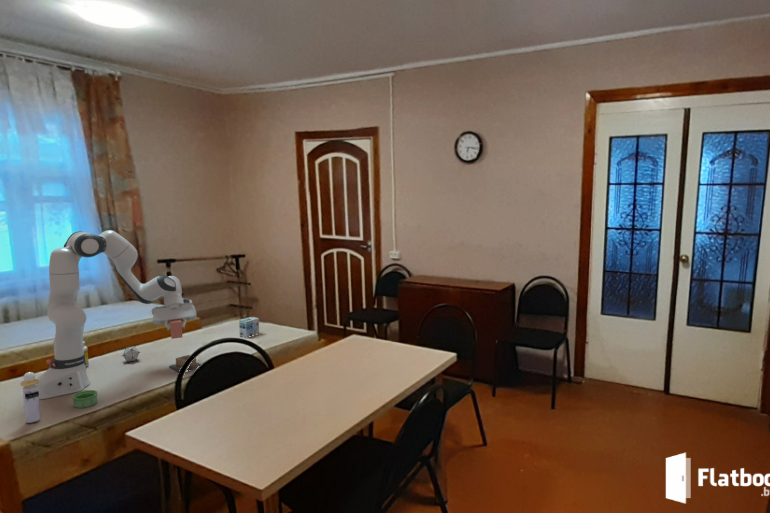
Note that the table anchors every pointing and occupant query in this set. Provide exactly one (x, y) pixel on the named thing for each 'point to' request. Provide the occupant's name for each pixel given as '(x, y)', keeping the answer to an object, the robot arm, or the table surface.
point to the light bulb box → (249, 326)
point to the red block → (176, 329)
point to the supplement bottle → (85, 354)
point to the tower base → (181, 361)
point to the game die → (131, 354)
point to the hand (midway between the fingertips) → (176, 328)
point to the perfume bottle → (31, 397)
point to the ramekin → (85, 398)
